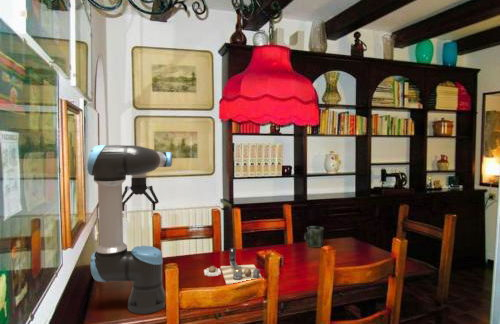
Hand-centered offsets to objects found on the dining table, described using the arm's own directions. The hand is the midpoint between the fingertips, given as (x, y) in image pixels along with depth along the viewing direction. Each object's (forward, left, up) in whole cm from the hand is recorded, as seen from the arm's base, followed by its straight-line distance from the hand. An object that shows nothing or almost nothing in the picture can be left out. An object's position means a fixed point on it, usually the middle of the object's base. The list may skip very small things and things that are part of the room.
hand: (138, 216), depth 184 cm
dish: (-19, -37, -27) cm, 50 cm away
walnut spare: (-19, -37, -26) cm, 49 cm away
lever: (-22, -49, -25) cm, 59 cm away
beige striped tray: (-23, -51, -27) cm, 62 cm away
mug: (+21, -107, -27) cm, 113 cm away
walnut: (-28, -55, -25) cm, 66 cm away
